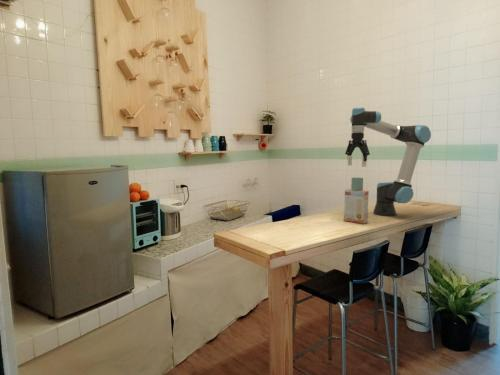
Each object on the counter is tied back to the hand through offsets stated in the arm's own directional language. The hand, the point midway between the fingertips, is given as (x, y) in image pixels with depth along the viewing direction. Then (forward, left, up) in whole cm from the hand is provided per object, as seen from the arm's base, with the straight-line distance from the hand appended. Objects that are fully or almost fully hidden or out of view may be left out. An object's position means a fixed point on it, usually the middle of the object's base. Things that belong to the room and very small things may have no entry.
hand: (356, 166), depth 215 cm
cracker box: (0, +1, -37) cm, 37 cm away
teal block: (0, +1, -16) cm, 16 cm away
